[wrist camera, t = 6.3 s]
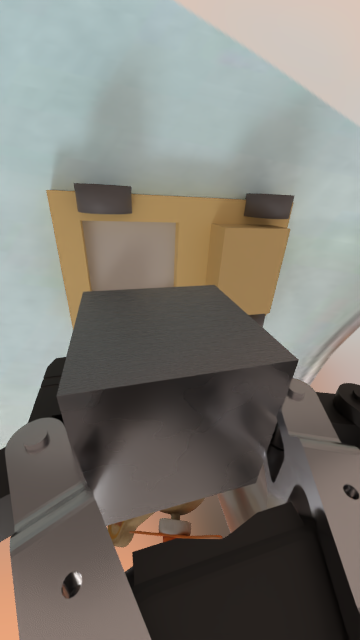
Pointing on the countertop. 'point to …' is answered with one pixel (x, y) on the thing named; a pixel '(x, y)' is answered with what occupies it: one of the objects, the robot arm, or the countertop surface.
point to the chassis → (170, 243)
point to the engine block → (169, 396)
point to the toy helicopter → (167, 527)
